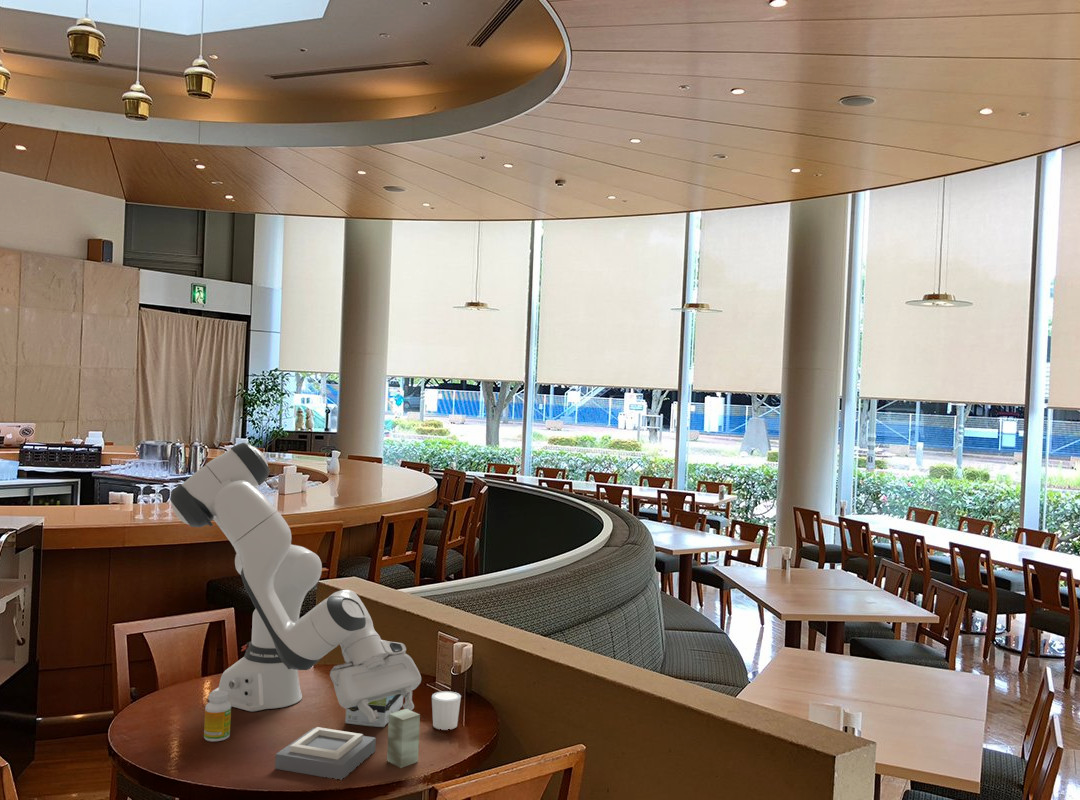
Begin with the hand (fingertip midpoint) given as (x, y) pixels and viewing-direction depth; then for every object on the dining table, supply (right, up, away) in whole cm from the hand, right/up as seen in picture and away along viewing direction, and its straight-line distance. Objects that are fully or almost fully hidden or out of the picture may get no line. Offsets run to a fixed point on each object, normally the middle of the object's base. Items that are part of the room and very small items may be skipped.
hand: (393, 715), depth 184 cm
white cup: (+9, -10, +20) cm, 24 cm away
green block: (+2, -9, -1) cm, 10 cm away
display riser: (-14, -9, -2) cm, 16 cm away
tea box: (-8, -9, +24) cm, 27 cm away
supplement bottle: (-40, -8, +7) cm, 41 cm away
